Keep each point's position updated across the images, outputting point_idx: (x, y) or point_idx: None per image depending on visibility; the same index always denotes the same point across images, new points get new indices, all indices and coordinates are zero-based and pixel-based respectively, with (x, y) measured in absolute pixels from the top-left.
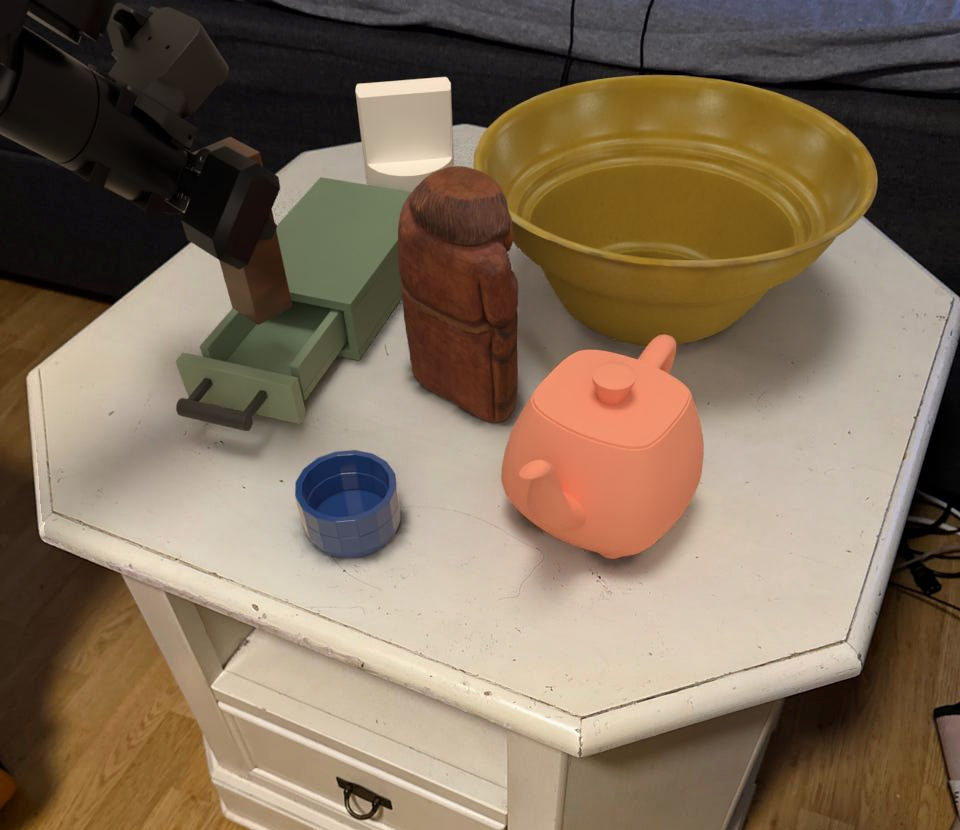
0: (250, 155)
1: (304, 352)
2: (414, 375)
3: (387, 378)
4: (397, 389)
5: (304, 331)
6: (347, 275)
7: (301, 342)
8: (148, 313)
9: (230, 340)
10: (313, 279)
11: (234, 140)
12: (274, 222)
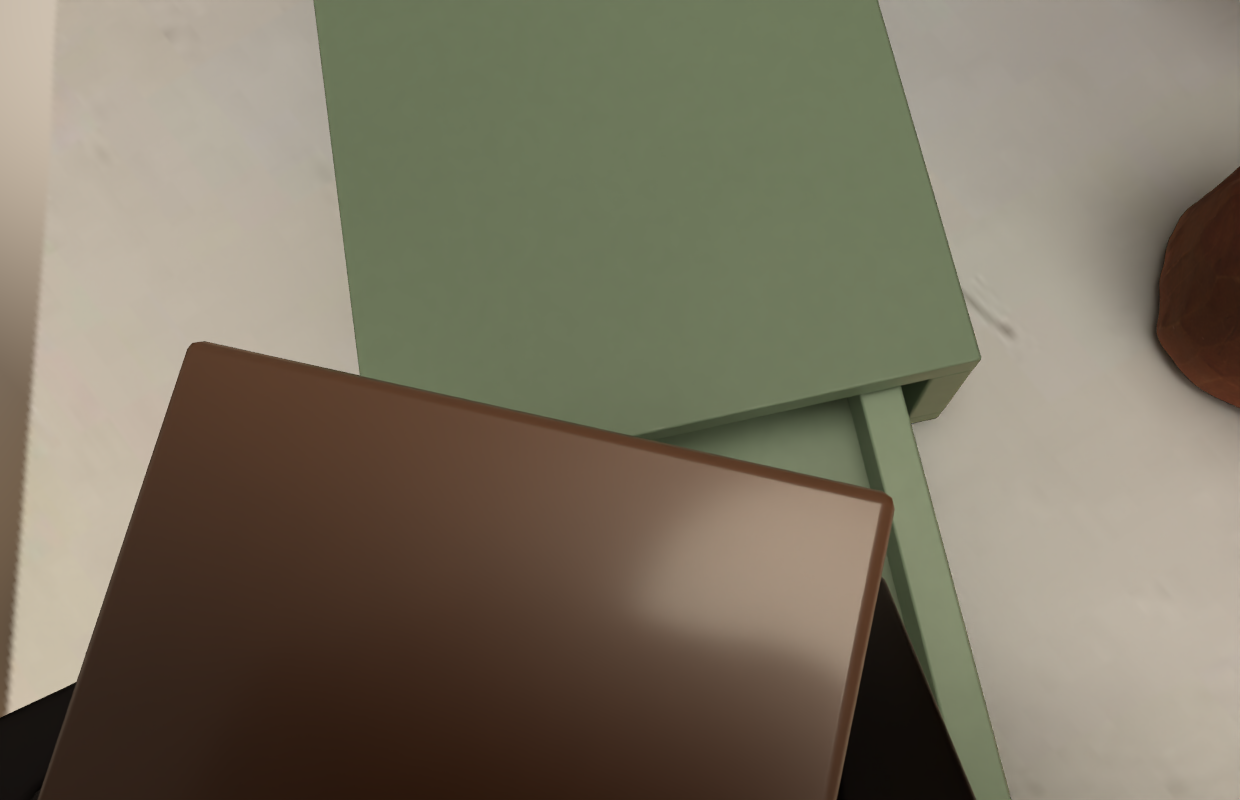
0: (848, 677)
1: (966, 706)
2: (1211, 394)
3: (1103, 446)
4: (1184, 481)
5: (726, 454)
6: (820, 194)
7: None
8: (105, 578)
9: None
10: (706, 297)
11: (307, 397)
12: (895, 604)
